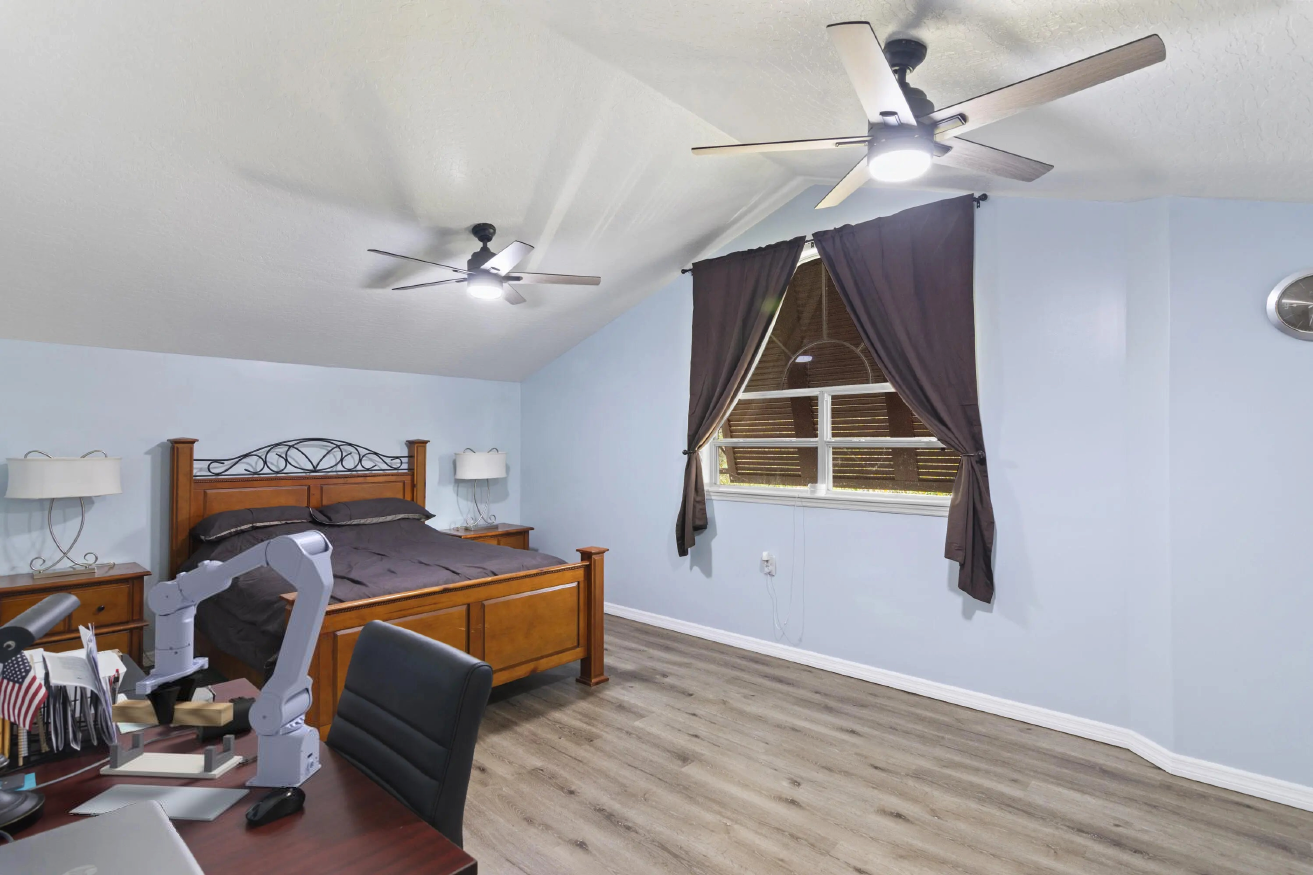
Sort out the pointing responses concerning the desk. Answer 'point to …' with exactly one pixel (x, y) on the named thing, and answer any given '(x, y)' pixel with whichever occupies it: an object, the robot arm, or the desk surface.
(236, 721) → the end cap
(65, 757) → the desk surface
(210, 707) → the oak rail
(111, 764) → the hook rack
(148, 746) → the desk surface
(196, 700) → the robot toy
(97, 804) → the rubber mat
